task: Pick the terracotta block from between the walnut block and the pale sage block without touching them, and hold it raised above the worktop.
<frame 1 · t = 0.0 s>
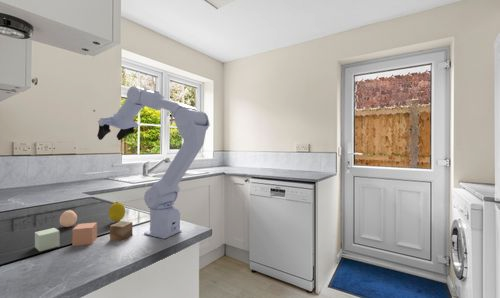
hand: (109, 138, 92), 32 cm above the table, tool tilted 50°, fingers open, 7 cm apart
lemon: (117, 222, 90), on the table
walnut block: (121, 237, 76), on the table
sage block: (47, 246, 69), on the table
egg: (68, 227, 85), on the table
terracotta block: (85, 241, 72), on the table
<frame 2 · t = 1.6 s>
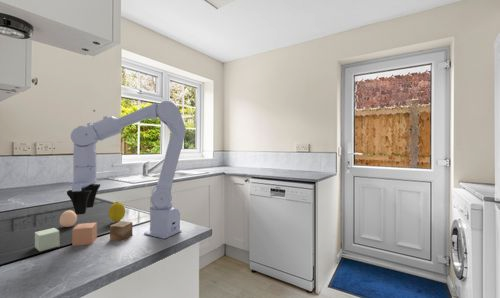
hand: (84, 210, 72), 10 cm above the table, tool pointing down, fingers open, 7 cm apart
nothing on the table moved.
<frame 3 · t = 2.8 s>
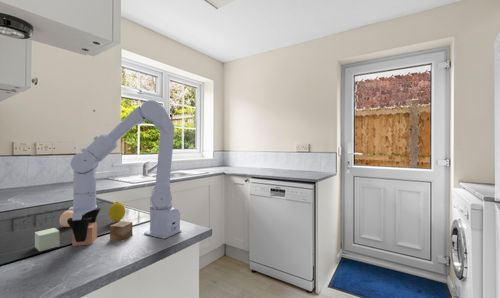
hand: (85, 236, 72), 2 cm above the table, tool pointing down, fingers open, 7 cm apart
nothing on the table moved.
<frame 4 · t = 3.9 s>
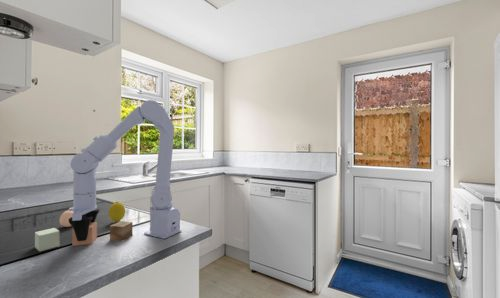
hand: (85, 236, 72), 1 cm above the table, tool pointing down, fingers closed on terracotta block, 5 cm apart
terracotta block: (85, 241, 72), on the table, touching gripper
everything else where it was.
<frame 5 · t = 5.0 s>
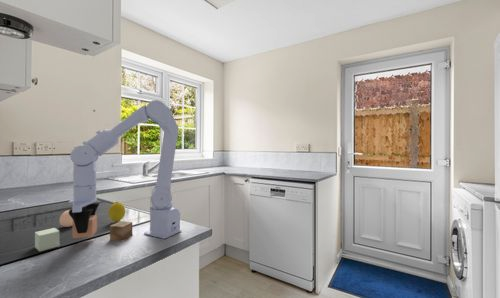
hand: (85, 229, 72), 4 cm above the table, tool pointing down, fingers closed on terracotta block, 5 cm apart
terracotta block: (85, 234, 72), point 2 cm above the table, touching gripper
everything else where it was.
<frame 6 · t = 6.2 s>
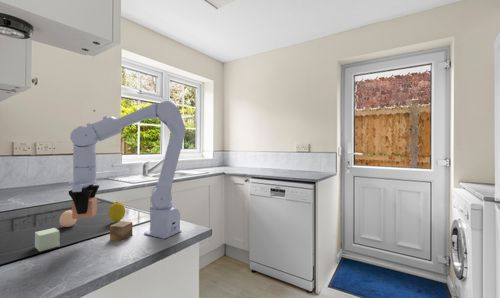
hand: (85, 211, 72), 9 cm above the table, tool pointing down, fingers closed on terracotta block, 5 cm apart
terracotta block: (85, 215, 72), point 8 cm above the table, touching gripper
everything else where it was.
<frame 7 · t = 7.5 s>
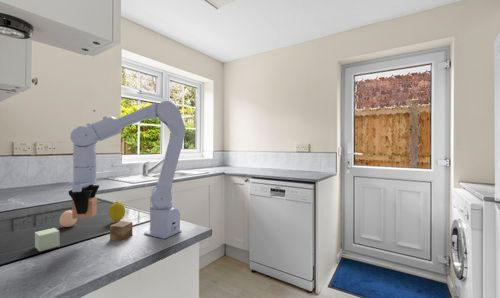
hand: (85, 211, 72), 9 cm above the table, tool pointing down, fingers closed on terracotta block, 5 cm apart
terracotta block: (85, 215, 72), point 8 cm above the table, touching gripper
everything else where it was.
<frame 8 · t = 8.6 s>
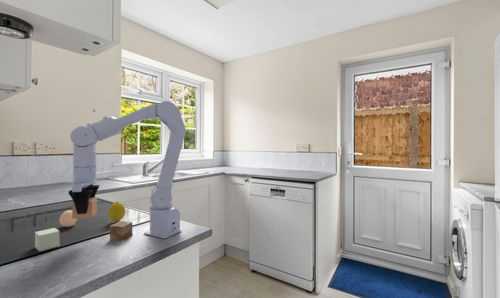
hand: (85, 211, 72), 9 cm above the table, tool pointing down, fingers closed on terracotta block, 5 cm apart
terracotta block: (85, 215, 72), point 8 cm above the table, touching gripper
everything else where it was.
at the end: the gripper is holding terracotta block; terracotta block point 7.9 cm above the table; sage block moved 0.1 cm from its start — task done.
